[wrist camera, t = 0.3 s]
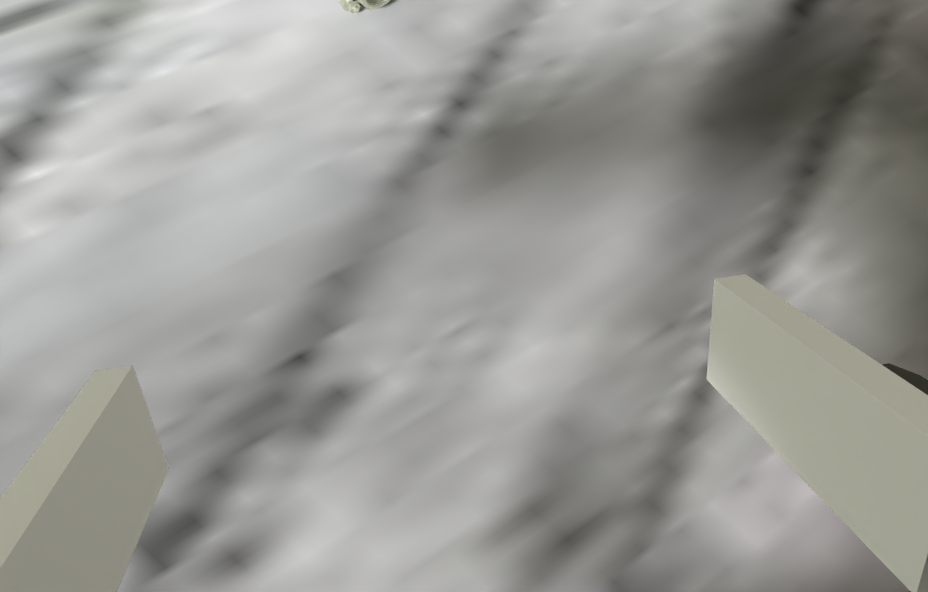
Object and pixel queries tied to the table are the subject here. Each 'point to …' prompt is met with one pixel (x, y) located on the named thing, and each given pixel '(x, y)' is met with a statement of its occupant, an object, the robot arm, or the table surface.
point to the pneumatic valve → (351, 4)
